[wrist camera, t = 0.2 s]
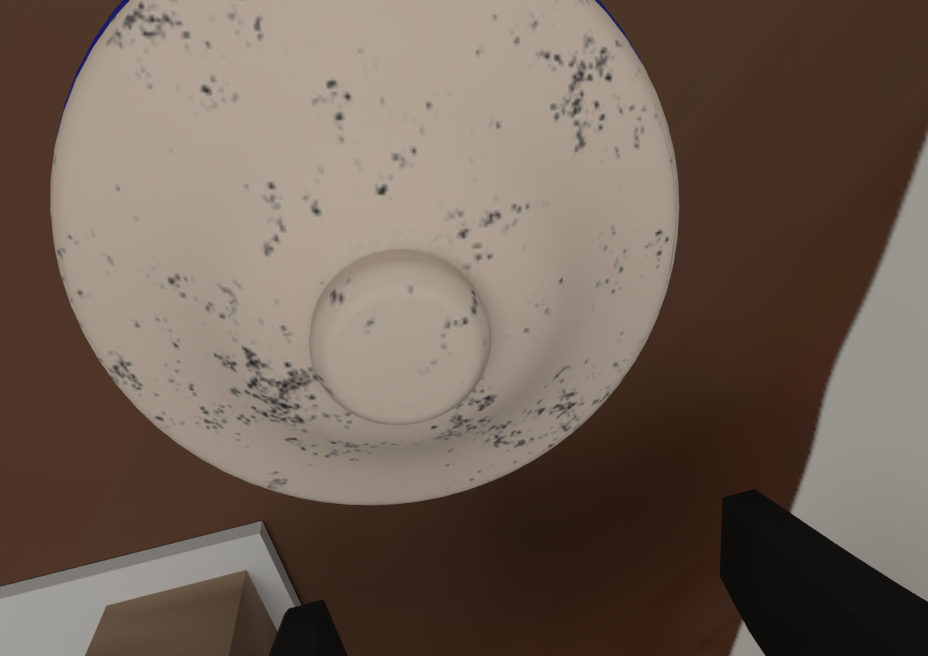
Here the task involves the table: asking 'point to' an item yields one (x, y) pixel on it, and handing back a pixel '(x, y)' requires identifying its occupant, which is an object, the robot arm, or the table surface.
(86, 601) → the grey mat
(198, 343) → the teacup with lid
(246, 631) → the brown rectangular block
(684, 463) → the table surface
